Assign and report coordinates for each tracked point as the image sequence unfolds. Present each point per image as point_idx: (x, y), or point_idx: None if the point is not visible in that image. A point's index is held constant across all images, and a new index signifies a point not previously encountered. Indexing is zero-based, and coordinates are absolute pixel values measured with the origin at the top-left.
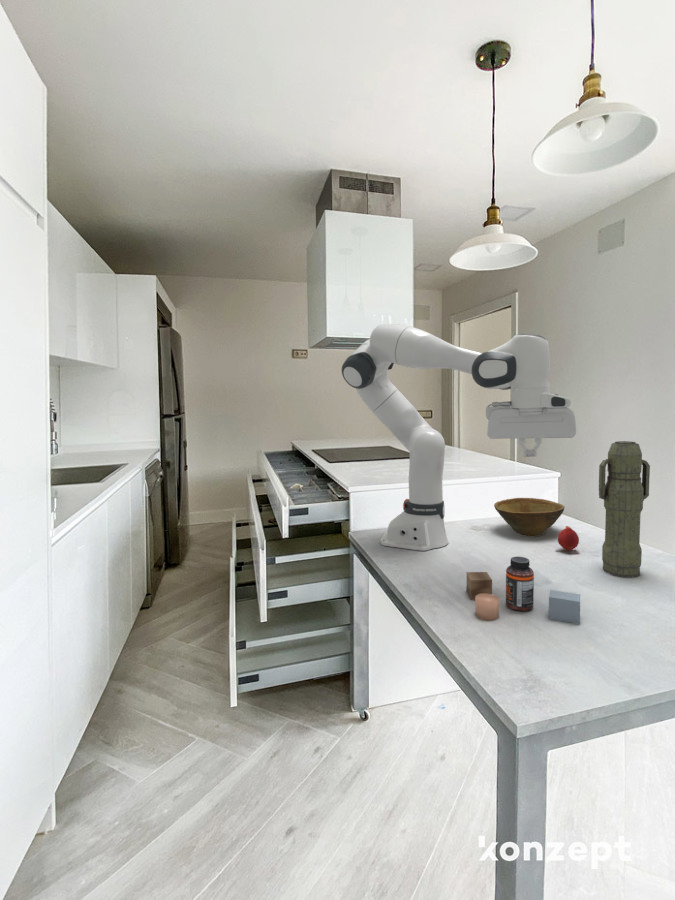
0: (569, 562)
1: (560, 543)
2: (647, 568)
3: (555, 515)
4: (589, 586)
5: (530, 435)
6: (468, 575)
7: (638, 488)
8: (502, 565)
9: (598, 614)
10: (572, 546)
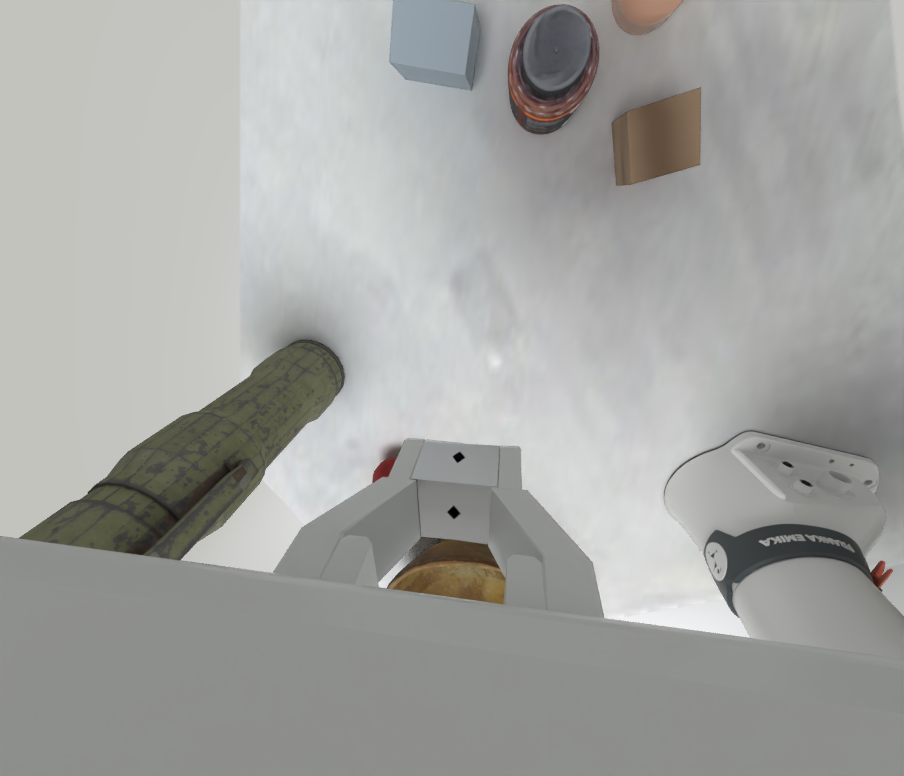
0: (403, 403)
1: None
2: None
3: (407, 565)
4: (374, 275)
5: (408, 633)
6: (699, 133)
7: (118, 463)
8: (549, 365)
9: (366, 103)
10: (389, 458)
